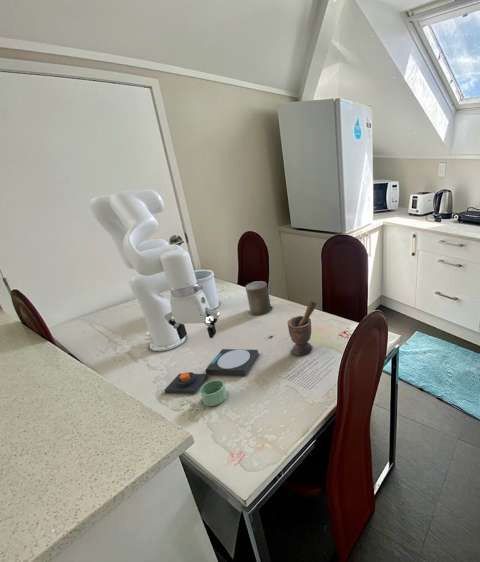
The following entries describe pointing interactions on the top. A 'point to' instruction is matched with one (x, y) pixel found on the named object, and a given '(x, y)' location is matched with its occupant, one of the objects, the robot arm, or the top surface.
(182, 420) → the top surface
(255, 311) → the pillar candle
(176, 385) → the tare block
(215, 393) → the bowl
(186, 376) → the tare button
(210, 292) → the utensil holder
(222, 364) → the scale
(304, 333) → the mortar and pestle
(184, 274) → the robot arm
